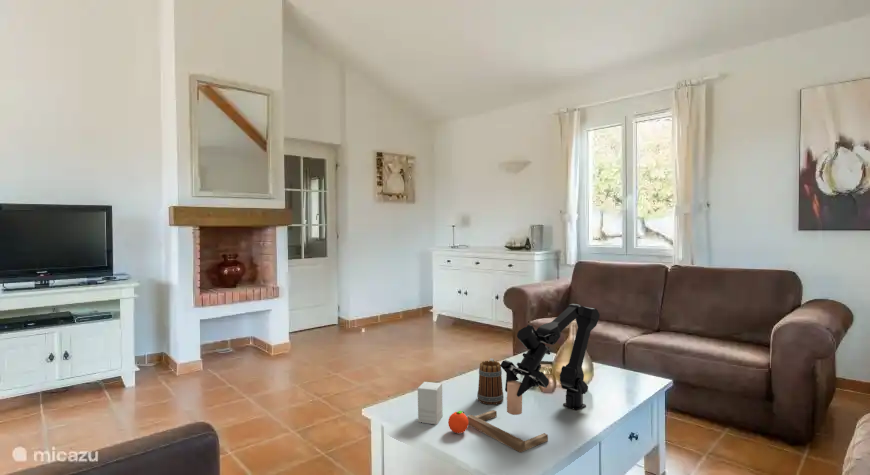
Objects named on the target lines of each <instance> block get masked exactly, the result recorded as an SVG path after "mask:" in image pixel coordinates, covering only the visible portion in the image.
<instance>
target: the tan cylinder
mask: <svg viewBox="0 0 870 475" xmlns="http://www.w3.org/2000/svg"><path fill="white" fill-rule="evenodd" d="M521 383H522V381H519V380H516V381H508V382H507V392H506V413H508V414H509V415H514V416H517V415H518V416H519V415H522V413H523V394H522V395H521V396H520V397H518V396H517V392H518V390H519V387H520V385H521Z"/></svg>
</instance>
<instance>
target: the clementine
mask: <svg viewBox="0 0 870 475" xmlns="http://www.w3.org/2000/svg"><path fill="white" fill-rule="evenodd" d="M467 416H468V415H466V413H465V412H464V411H463V410H458V411H455V412H453V413H451V415H449V417H448V428H449V430H451V432H453V433H455V434H463V433H464V432H466V430H467V429H468V426H469V425H468V418H467Z"/></svg>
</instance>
